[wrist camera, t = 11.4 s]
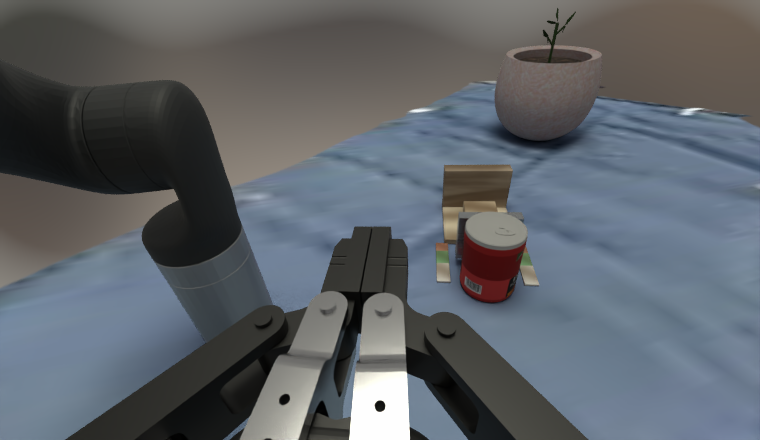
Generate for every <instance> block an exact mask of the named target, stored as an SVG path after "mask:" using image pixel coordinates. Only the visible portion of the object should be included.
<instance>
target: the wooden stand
mask: <svg viewBox="0 0 760 440" xmlns="http://www.w3.org/2000/svg"><path fill="white" fill-rule="evenodd" d="M512 172H513V170H512V168H511V166H510V165H444V180H443V199H442V209H443V226H444V243H436V263H437V282H445V283H450V271H449V256H448V244H456V237H457V226H458V215H459V212H507V210H506V204H507V198H508V193H509V188H510V183H511V177H512ZM520 272H521V275H522V278H523V281H524V285H525V286H539V283H538V280H537V277H536V274H535V271H534V268H533V266H532V263H531V260H530V257H529V254H528V251H527V249H526V246H525V249H524V253H523V257H522V261H521V264H520Z"/></svg>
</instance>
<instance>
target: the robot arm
mask: <svg viewBox="0 0 760 440" xmlns="http://www.w3.org/2000/svg"><path fill="white" fill-rule="evenodd" d="M0 173H5V174H11V175H17V176H21V177H26V178H31V179H36V180H41V181H45V182H50V183H54V184H59V185H63V186H68V187H72V188H77V189H81V190H86V191H91V192H97V193H104V194H134V193H143V192H152V191H160V190H169V189H174V190H175V192H176V195H177V197H178V199H179V200H178V201H176V202H174V203H172V204H170V205H168V206H166V207H165V208H163V209H162V210H160V211H159V212H158V213H156V214H155V215H154V216H153V217H152V218H151V219H150V220H149V221H148V222H147V223H146V225H145V227H144V229H143V231H142V241H143V244H144V246H145V248H146V249H147V251H148V253H149V254H150V256H151V257H152V259H153V260H154V262H155V264H156V265H157V267H158V268H159V270H160V271H161V273H162V275H163V276H164V278H165V279H166V280H167V282H168V284H169V285H170V287H171V288H172V290H173V291H174V293H175V295H176V296H177V298H178V300H179V301H180V303H181V304H182V306H183V307H184V309H185V311H186V312H187V314H188V315H189V317H190V318H191V320H192V322H193V323H194V325H195V326H196V328H197V329H198V331H199V332H200V334H201V336H202V337H203V339H204V340H205V342H206V344H204V345H203V346H201V347H200V348H198V349H197V350H195V351H194V352H192V353H191V354H190V355H188V356H187V357H185V358H184V359H182V360H181V361H179V362H178V363H176V364H175V365H173V366H172V367H171V368H169V369H168V370H166V371H165V372H163V373H162V374H160V375H159V376H157V377H156V378H155V379H153V380H152V381H150V382H149V383H147V384H146V385H144V386H143V387H141V388H140V389H138V390H137V391H136V392H134V393H133V394H131V395H130V396H128V397H127V398H125V399H124V400H122V401H121V402H120V403H118V404H117V405H115V406H114V407H112V408H111V409H109V410H108V411H106V412H105V413H103V414H102V415H101V416H99V417H98V418H96V419H95V420H93V421H92V422H90V423H89V424H87V425H86V426H85V427H83V428H82V429H80V430H79V431H77V432H76V433H74V434H73V435H71V436H70V437H68V438H67V439H66V440H223V439H224V438H225V437H226V436H228V435H229V434H230V433H231V432H232V431H233V430H234V429H236V428H237V427H238V426H239V425H240V424H241V423H242V422H244V421H245V420H246V419H247V418H248V417H249V416H250V415H251V416H250V418H249V420H248V422H247V425H246V427H245V428H244V429H242V430H241V431H240V432H238V433H237V434H236V435H235V436H233V437H232V438H231V439H230V440H429V439H428V438H426V437H425V436H424V435H422V434H421V433H420V432H418V431H416V430H414V429H412V428H410V427H409V414H408V392H407V373H408V374H411V375H413V376H415V377H418V378H420V379H423V380H424V382H425V384H426V385H427V387H428V388H429V390H430V391H431V392H432V393H433V395H434V396H435V397H436V399H437V400H438V401H439V402H440V404H441V405H442V406H443V408H444V409H445V410H446V412H447V413H448V414H449V415H450V417H451V418H452V419H453V421H454V422H455V423H456V424H457V426H458V427H459V428H460V430H461V431H462V432H463V433H464V435H465V436H466V437H467V439H468V440H588V439H587V438H586V437H585V436H584V435H583V434H582V433H581V432H580V431H579V430H578V429H577V428H576V427H574V426H573V425H572V424H571V423H570V422H569V421H568V420H567V419H566V418H565V417H564V416H563V415H562V414H561V413H560V412H559V411H558V410H557V409H556V408H555V407H554V406H553V405H552V404H550V403H549V402H548V401H547V400H546V399H545V398H544V397H543V396H542V395H541V394H540V393H539V392H538V391H537V390H536V389H535V388H534V387H533V386H532V385H531V384H530V383H529V382H528V381H526V380H525V379H524V378H523V377H522V376H521V375H520V374H519V373H518V372H517V371H516V370H515V369H514V368H513V367H512V366H511V365H510V364H509V363H508V362H507V361H506V360H505V359H504V358H502V357H501V356H500V355H499V354H498V353H497V352H496V351H495V350H494V349H493V348H492V347H491V346H490V345H489V344H488V343H487V342H486V341H485V340H484V339H483V338H482V337H481V336H480V335H478V334H477V333H476V332H475V331H474V330H473V329H472V328H471V327H470V326H469V325H468V324H467V323H466V322H465V321H464V320H463V319H462V318H460V317H459V316H457V315H455V314H453V313H449V312H440V313H436V314H434V315H432V316H430V317H428V316H425V315H422V314H420V313H417V312H416V311H414V310H413V309H412V308H411V307H410V306H409V305H408V303H407V288H408V248H407V246H406V244H405V242H404V240H403V239H392V235H391V227H354V231H353V235H352V238H351V239H341V241H340V242H339V243H338V244H337V245H336V246H335V248H334V251H333V254H332V258H331V261H330V265H329V267H328V271H327V274H326V277H325V280H324V284H323V287H322V290H321V293H320V294H319V295H317V296H315V297H314V298H313V299H312V300H311V302H310V303H309V305H308V307H306V308H303V309H300V310H296V311H292V312H288V313H284V312H283V310H282V309H281V308H280V307H278V306H275V305H273V303H272V300H271V298H270V295H269V292H268V290H267V287H266V285H265V282H264V280H263V277H262V275H261V272H260V269H259V267H258V264H257V262H256V259H255V257H254V254H253V252H252V249H251V246H250V244H249V242H248V239H247V237H246V234H245V231H244V229H243V226H242V224H241V221H240V219H239V216H238V213H237V209H236V205H235V201H234V197H233V193H232V190H231V187H230V184H229V181H228V179H227V176H226V173H225V170H224V167H223V163H222V160H221V157H220V154H219V151H218V147H217V144H216V141H215V138H214V134H213V132H212V129H211V126H210V123H209V120H208V118H207V115H206V113H205V111H204V109H203V107H202V105H201V103H200V102H199V100H198V99H197V97H196V96H195V95H194V93H193V92H192V91H191V90H190V89H189V88H188V87H187V86H185V85H184V84H182V83H180V82H177V81H172V80H171V81H170V80H162V81H161V80H159V81H149V82H148V81H147V82H138V83H127V84H116V85H106V86H96V87H80V86H70V85H66V84H63V83H59V82H56V81H52V80H50V79H46V78H43V77H41V76H38V75H36V74H33V73H31V72H29V71H26V70H24V69H22V68H19V67H17V66H14V65H12V64H10V63H8V62H6V61H4V60H2V59H0ZM358 333H360V334H361V343H360V356H359V361H357V363H356V369H355V380H354V392H353V403H352V415H351V417H348V418H343V404H344V399H345V395H346V391H347V387H348V383H349V379H350V375H351V371H352V367H353V363H354V359H355V355H356V342H357V336H358Z"/></svg>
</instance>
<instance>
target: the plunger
mask: <svg viewBox="0 0 760 440" xmlns="http://www.w3.org/2000/svg"><path fill="white" fill-rule="evenodd" d="M478 213H482V212H459V215H458V226H457V237H456V248H455V255H456V258H461V259H462V250H463V240H464V232H465V225H466V222H467V220H468V219H469V218H470V217H471V216H473V215H475V214H478ZM500 213H505V214H508V215H511V216H513V217H515V218H517V219H518V220H520V221H521V222H522V223H523V222H524V218H523V215H522V213H518V212H500Z"/></svg>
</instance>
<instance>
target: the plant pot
mask: <svg viewBox="0 0 760 440" xmlns="http://www.w3.org/2000/svg"><path fill="white" fill-rule="evenodd" d="M575 13H576V12H575ZM575 13H574V14H575ZM574 14H573V15H572V16H571V17H570V18H569V19H568V20H567V22H566V24H568V22H569V21H570V20H571V19H572V17H573V16H574ZM556 18H557V21H558V8H557V13H556ZM547 22H548V23H551V24H556V26H555V30H554V35H553V40H552V42H551V40H550V39H549V37H548V34H547V33H546V32H545V31H544V30H543V34H544V36H545V37H547V41H548V40H549V42H550V44H551V45H549V46H531V47H523V48H518V49H514V50H511V51H509V52H507V54H506V56H505V58H504V61H503V63H502V66H501V69H500V72H499V75H498V79H497V83H496V89H495V107H496V112H497V115H498V118H499V120H500V121H501V123H502V124H503V126H504V127H505V128H506V129H507V130H508V131H510V132H511V133H512V134H514V135H516V136H518V137H521V138H524V139H527V140H535V141H543V140H551V139H555V138H558V137H561V136H563V135H565V134H567V133H569V132H570V131H572V130H573V129H575V128H576V127H577V126H578V125H579V124H580V123H581V122H582V121H583V120H584V119H585V118H586V116H587V115H588V113H589V111H590V110H591V108H592V106H593V104H594V102H595V99H596V97H597V94H598V91H599V86H600V81H601V71H602V70H601V69H602V54H601V53H600V52H598V51H596V50H593V49H588V48H583V47H574V46H555V45H554V44H555V39H556V35H557V34H558V33H559V32H560V31H561V30H562V29H563V30H564V28H565V26H563V27H562V28H561V29H560V30H559V31H558V32H557V30H558V25H559V23H556V22H553V21H547ZM566 24H565V25H566Z"/></svg>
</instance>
